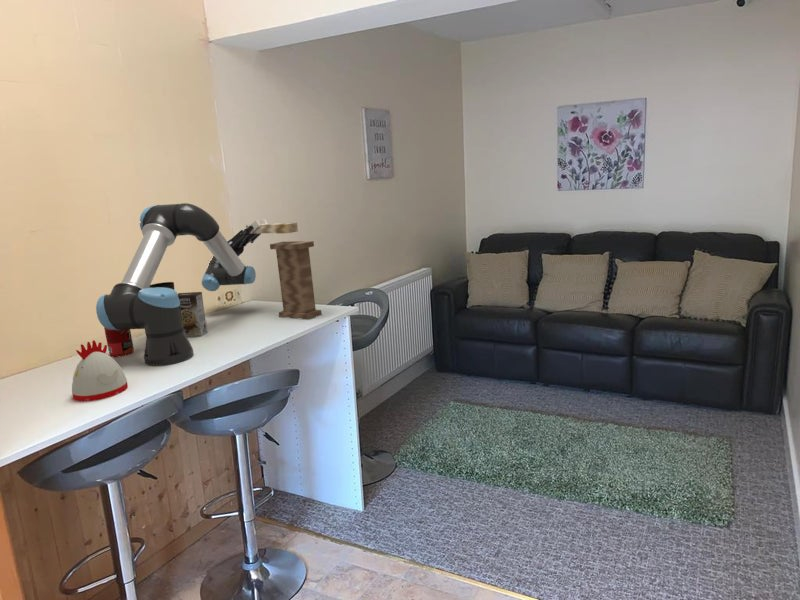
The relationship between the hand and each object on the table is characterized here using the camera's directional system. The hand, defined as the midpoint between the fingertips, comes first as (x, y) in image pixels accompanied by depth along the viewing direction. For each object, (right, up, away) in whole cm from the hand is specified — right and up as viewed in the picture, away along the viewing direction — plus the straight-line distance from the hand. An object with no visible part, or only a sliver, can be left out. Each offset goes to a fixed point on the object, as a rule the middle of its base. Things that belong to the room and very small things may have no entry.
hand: (261, 222), depth 238 cm
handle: (+4, -5, -1) cm, 6 cm away
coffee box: (-22, -45, -17) cm, 53 cm away
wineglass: (-32, -46, -15) cm, 57 cm away
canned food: (-40, -51, -35) cm, 74 cm away
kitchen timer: (-28, -58, -73) cm, 98 cm away
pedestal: (+16, -38, 0) cm, 41 cm away
